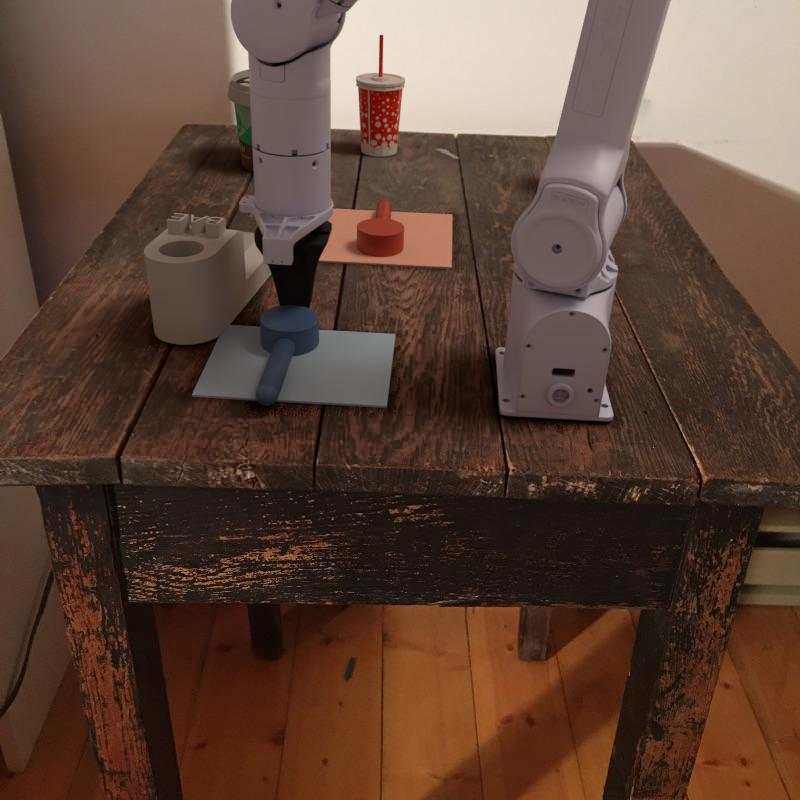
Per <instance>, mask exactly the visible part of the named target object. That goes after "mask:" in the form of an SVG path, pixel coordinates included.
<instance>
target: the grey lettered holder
mask: <svg viewBox="0 0 800 800" xmlns="http://www.w3.org/2000/svg"><path fill="white" fill-rule="evenodd" d="M166 226H167V228H166V229H165V230H163V231H162V232H161V233H160V234H159V235H158V236H156V237H155V238H154V239H153V240H151V242H149V243H148V244H147V245H146V246H145V247H144V248H143V256H144V263H145V271H146V280H147V287H148V288H147V289H148V294H149V302H150V309H151V310H150V311H151V318H152V324H153V326H152V327H153V333H154V335H155V337H156V338H157V339H159V340H160V341H162V342H165V343H166V344H167V343H168V344H172V345H180V346H189V345H190V346H191V345H199V344H203V343H207V342H211V341H212V340H215V339H218V338H219V336H220V335H221V334H223V332H224V331H225V330H226V329H227V328H228V326H229V325H232V323H233V322H234V320H235V319H236V318H237V317H238V316H239V314H240V313H241V312H242V311H243V310H244V308H246V306H247V305H248V303H249V302H250V301H251V300H252V299H253V297H254V296H255V295H256V293H258V292H259V290H260V288H262V286H263V285H264V284H265V283H266V281H268V279H269V278H270V277H271V276H272V274H271V271H270V269H269V266H268V264H264V263H263V255H262V254H261V252H260V251H259V249H258V248H257V247H256V244H255V240H254V233H255V232H250V231H249V232H248V231H244V230H239V229H227V226H226V217H221V216H209V215H204V216H203V217H197V216H195V214H188V213H181V212H179V213H178V212H174V213H173V215H171V216H170V218H166Z"/></svg>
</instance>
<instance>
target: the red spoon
mask: <svg viewBox="0 0 800 800" xmlns="http://www.w3.org/2000/svg"><path fill="white" fill-rule="evenodd" d="M375 211H376V216H375V218H373V219H367V220H363V221H361V222H359V223H358V224H357V249H358V251H359V252H361V253H363V254H365V255H369V256H375V257H388V256H394V255H397V254H399V253H401V252H402V251H403V249H404V225H403V224H402V223H400V222H398V221H395V220H392V219H391V213H392V211H393V205H392V202H391V201H390V200H389V199H387V198H383V199H380V200H379V201H378V202H377V205H376V209H375Z"/></svg>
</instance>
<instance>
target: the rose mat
mask: <svg viewBox="0 0 800 800" xmlns="http://www.w3.org/2000/svg"><path fill="white" fill-rule="evenodd" d="M375 216H376V210H373V209H372V210H371V209H350V208H335V207H333V215H332V216H331V218H330V219H328V220H327V221H329V222H331V224H332V231H331V234H330V237H329V240H328V243H327V245H326V247H325V249H324V251H323V253H322V254H321V256H320V258H319V262H318V263H329V264H347V265H349V264H350V265H366V266H367V265H368V266H386V267H387V266H388V267H389V266H390V267H402V268H403V267H405V268H406V267H407V268H426V269H443V270H452V268H453V217H454V215H453V214H452V213H451V214H449V213H433V212H432V213H430V212H411V211H393V210H392V213H391V219H392V220H395V221H398V222H400V223H402V224H403V225H404V249H403V251H402V252H401V253H399V254H397V255H394V256H388V257H375V256H369V255H365V254H363V253H361V252H359V251H358V249H357V224H358V223H359V222H361V221H363V220H367V219H373V218H375Z"/></svg>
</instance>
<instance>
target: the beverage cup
mask: <svg viewBox="0 0 800 800" xmlns="http://www.w3.org/2000/svg"><path fill="white" fill-rule="evenodd" d="M378 38H379V42H378V43H379V44H378V45H379V46H378V72H369V73H362V74H359V75H357V76H355V82H356V83H355V86H356V87H357V90H358V91H357V94H358V107H359V108H358V111H359V113H358V114H359V132H360V133H359V134H360V150H361V151H360V152H361V153H362V154H363V155H367V156H369V157H370V156H371V157H390V156H393V155H396V154H397V153H398V144H399V131H400V123H401V122H400V121H401V110H402V101H403V100H402V98H403V89H404V88H405V87H406V86H405V84H406V78H405V77H404V76H402V75H399V74H395V73H387V72H383V70H384V68H383V67H384V34H379V37H378Z"/></svg>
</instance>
